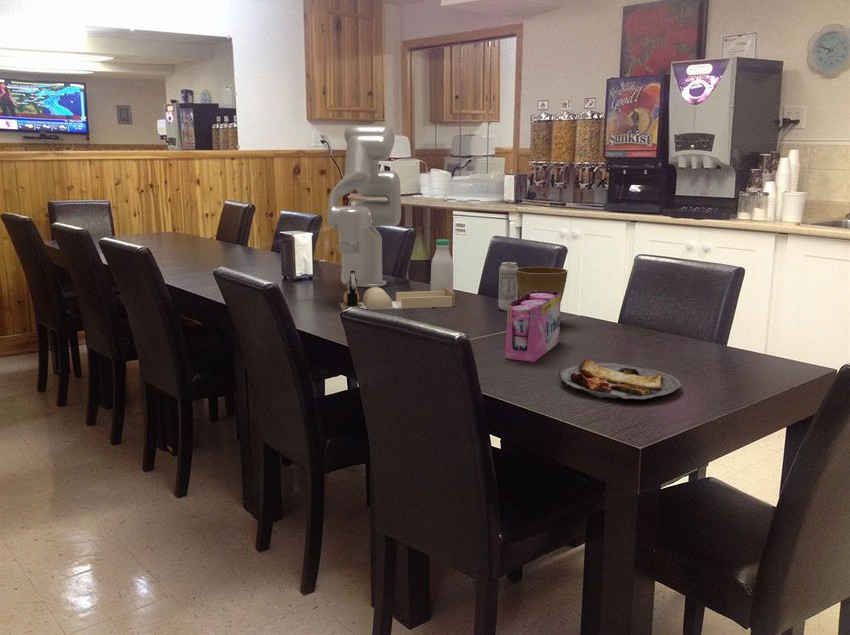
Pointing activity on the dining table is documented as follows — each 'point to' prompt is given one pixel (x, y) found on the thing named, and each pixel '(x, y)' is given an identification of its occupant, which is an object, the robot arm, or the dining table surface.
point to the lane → (406, 299)
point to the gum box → (532, 325)
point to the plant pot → (541, 279)
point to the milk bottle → (442, 267)
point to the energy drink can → (507, 284)
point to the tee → (350, 306)
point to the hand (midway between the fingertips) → (351, 303)
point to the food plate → (618, 380)
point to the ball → (346, 296)
